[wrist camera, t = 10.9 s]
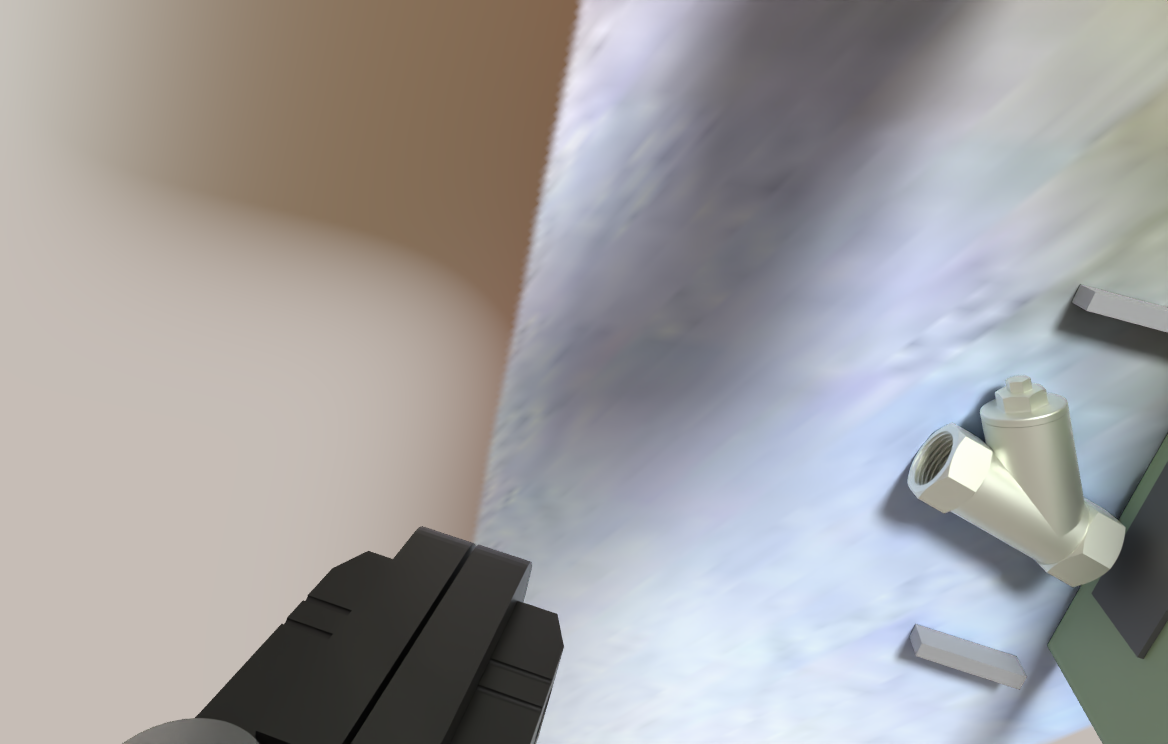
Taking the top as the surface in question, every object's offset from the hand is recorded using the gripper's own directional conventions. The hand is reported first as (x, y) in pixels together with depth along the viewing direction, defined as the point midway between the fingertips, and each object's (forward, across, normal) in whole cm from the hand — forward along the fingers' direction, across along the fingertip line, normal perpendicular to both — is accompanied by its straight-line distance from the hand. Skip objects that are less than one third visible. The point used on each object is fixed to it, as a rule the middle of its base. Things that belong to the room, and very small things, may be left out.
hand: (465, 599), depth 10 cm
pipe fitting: (+28, -18, +5) cm, 33 cm away
